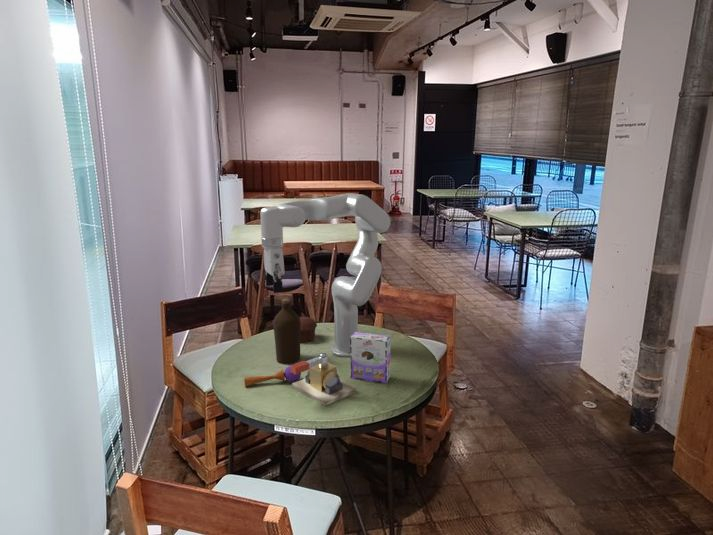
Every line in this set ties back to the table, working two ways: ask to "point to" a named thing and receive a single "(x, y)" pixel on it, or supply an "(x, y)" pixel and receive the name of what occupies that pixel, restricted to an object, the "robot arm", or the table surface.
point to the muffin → (307, 329)
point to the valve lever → (310, 364)
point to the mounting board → (322, 396)
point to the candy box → (370, 357)
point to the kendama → (273, 377)
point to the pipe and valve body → (324, 379)
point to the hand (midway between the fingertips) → (274, 288)
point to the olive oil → (287, 334)
